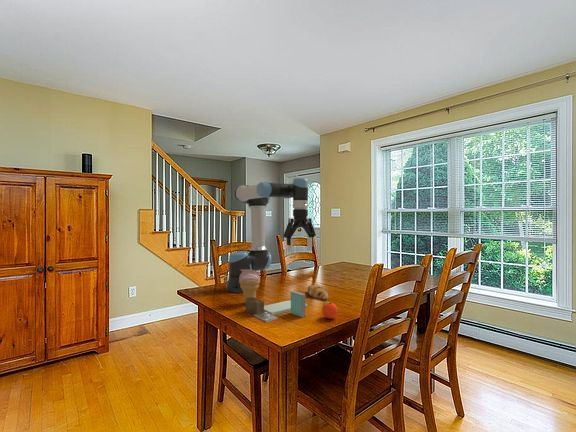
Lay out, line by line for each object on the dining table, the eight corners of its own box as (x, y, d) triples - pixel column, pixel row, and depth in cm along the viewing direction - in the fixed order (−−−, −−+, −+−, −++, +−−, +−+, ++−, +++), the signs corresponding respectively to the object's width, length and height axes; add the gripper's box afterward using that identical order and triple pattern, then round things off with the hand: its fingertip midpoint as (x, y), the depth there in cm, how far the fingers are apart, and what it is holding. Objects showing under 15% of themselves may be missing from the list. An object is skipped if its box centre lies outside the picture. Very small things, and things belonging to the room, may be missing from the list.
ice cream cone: (236, 301, 161) (237, 264, 161) (256, 299, 165) (257, 262, 165) (241, 307, 151) (241, 267, 151) (262, 305, 155) (262, 265, 155)
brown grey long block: (243, 311, 145) (243, 298, 145) (254, 308, 149) (254, 296, 149) (266, 322, 130) (266, 308, 130) (277, 319, 134) (277, 305, 134)
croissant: (331, 306, 165) (337, 293, 166) (317, 299, 161) (323, 285, 162) (312, 296, 184) (317, 284, 186) (299, 290, 180) (305, 277, 182)
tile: (290, 313, 143) (290, 291, 143) (293, 312, 144) (294, 291, 144) (301, 317, 136) (301, 295, 136) (305, 316, 138) (305, 294, 138)
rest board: (258, 309, 148) (258, 307, 148) (293, 301, 161) (293, 299, 161) (272, 315, 139) (272, 312, 139) (307, 306, 153) (307, 304, 153)
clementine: (317, 316, 137) (317, 301, 137) (328, 314, 141) (328, 298, 141) (329, 322, 131) (329, 305, 131) (341, 318, 135) (341, 302, 135)
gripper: (286, 208, 143) (286, 253, 144) (322, 209, 160) (322, 249, 160) (276, 208, 149) (276, 251, 149) (312, 209, 165) (312, 248, 165)
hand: (300, 250), depth 154 cm, fingers open, 13 cm apart
